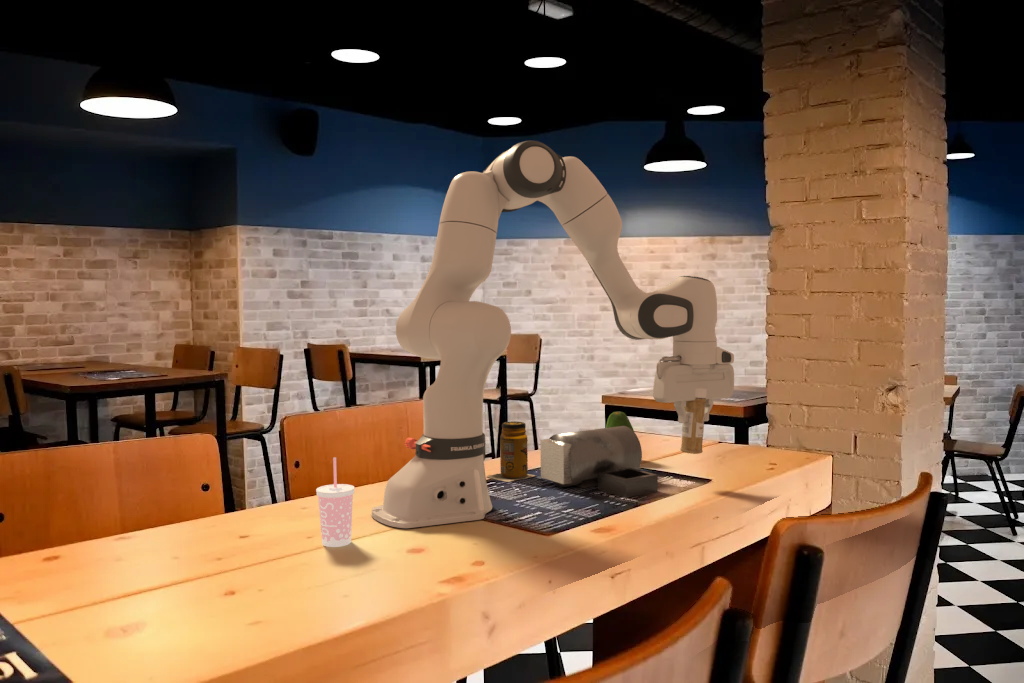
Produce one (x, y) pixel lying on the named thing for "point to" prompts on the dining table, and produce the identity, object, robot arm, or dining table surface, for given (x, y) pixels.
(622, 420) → the avocado
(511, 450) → the condiment
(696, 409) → the sprinkles bottle
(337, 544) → the beverage cup
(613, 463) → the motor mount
